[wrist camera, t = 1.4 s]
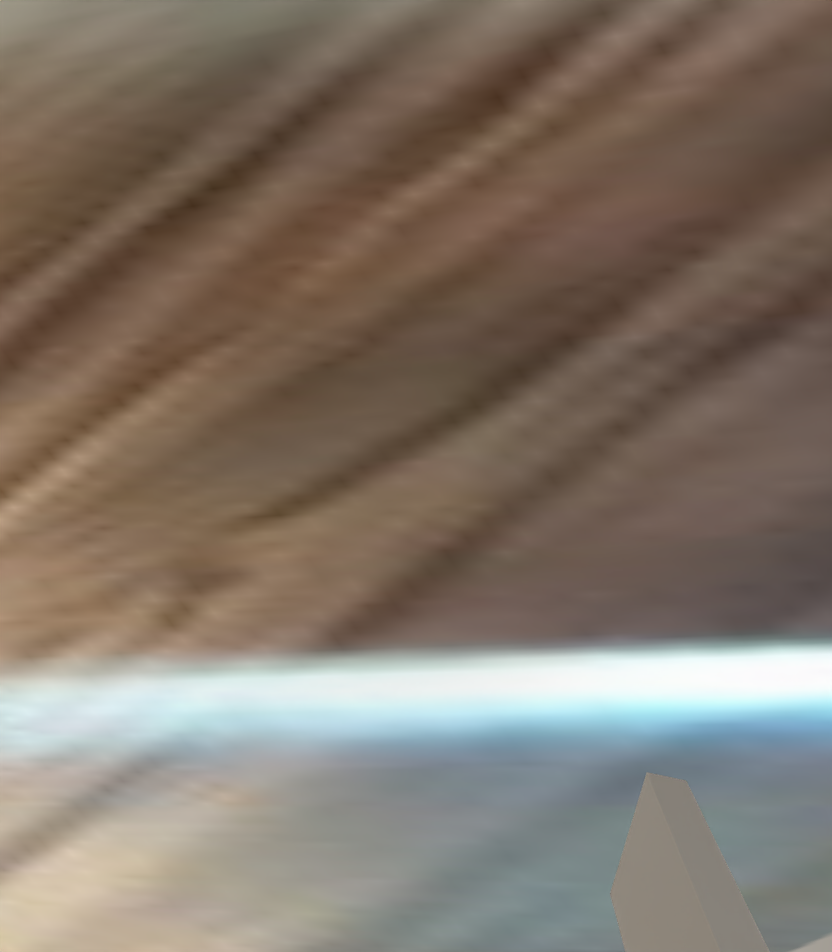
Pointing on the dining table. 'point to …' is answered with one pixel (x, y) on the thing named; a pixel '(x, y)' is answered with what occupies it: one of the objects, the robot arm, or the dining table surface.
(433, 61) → the dining table surface
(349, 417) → the dining table surface
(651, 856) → the robot arm
